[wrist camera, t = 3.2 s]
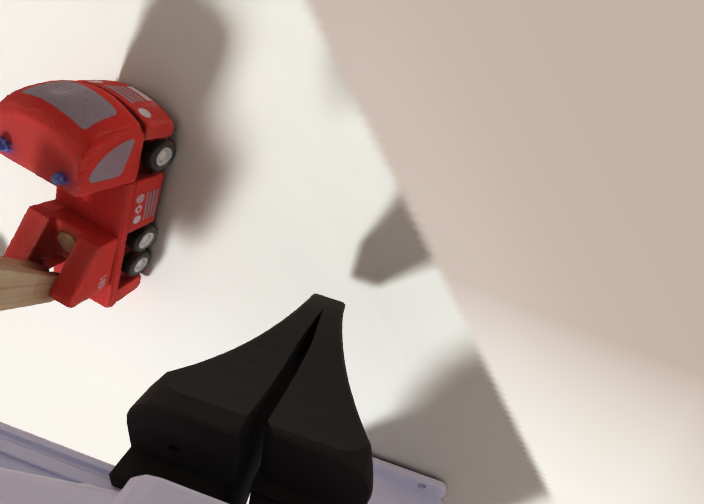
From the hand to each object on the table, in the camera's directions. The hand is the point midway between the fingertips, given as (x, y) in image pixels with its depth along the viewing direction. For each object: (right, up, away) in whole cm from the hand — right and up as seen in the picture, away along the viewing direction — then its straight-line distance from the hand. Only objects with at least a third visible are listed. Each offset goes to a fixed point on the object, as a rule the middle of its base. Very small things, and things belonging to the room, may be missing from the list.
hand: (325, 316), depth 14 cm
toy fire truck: (-10, +4, +3) cm, 11 cm away
